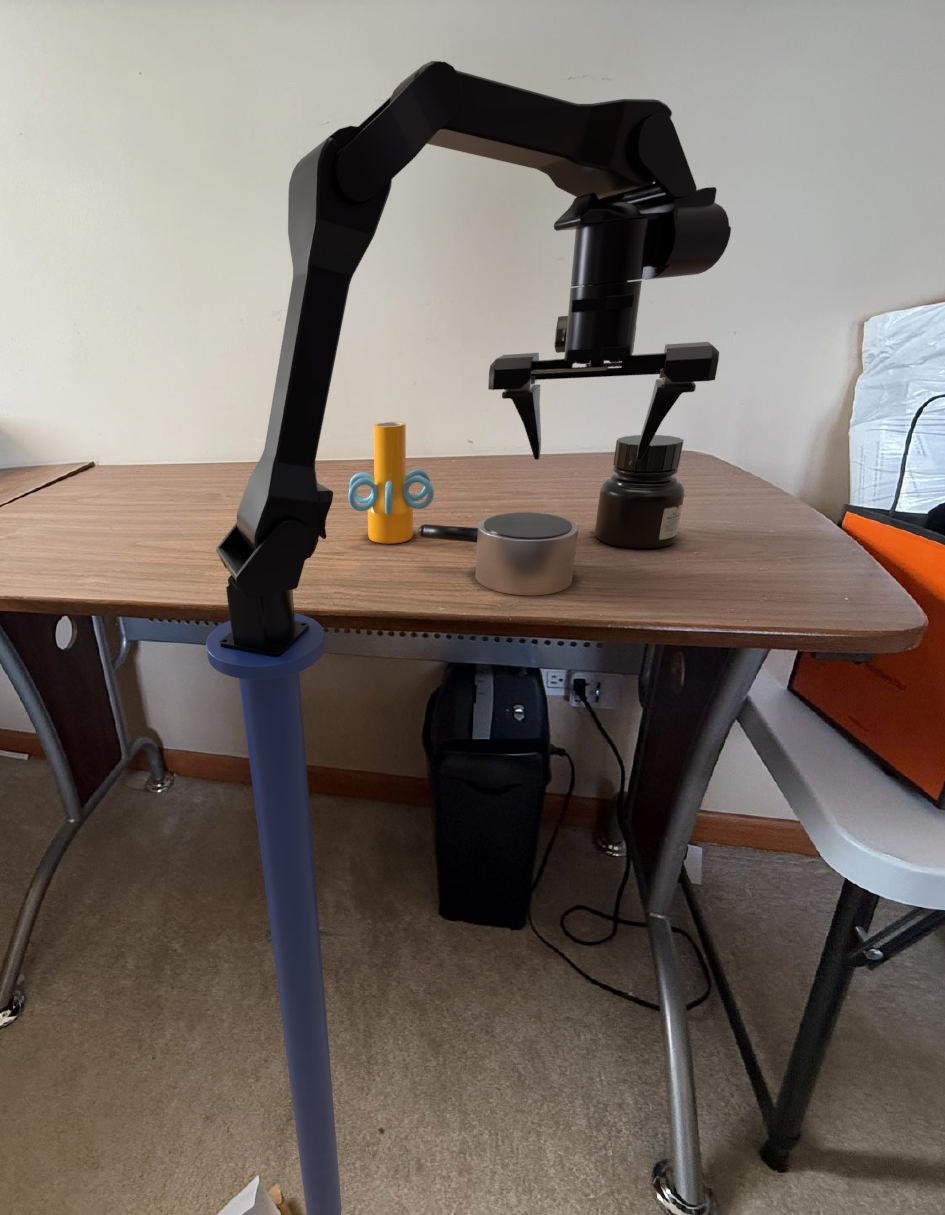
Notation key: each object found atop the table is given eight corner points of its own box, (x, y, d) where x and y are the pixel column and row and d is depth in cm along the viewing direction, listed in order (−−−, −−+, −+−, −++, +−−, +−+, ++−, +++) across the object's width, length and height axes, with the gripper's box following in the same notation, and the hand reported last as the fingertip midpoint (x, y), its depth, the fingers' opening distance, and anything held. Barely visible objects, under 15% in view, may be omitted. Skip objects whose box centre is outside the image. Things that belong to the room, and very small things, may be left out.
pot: (576, 566, 71) (582, 513, 68) (566, 600, 63) (573, 542, 60) (429, 553, 78) (430, 505, 76) (405, 582, 70) (405, 530, 68)
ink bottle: (685, 552, 72) (706, 447, 67) (600, 551, 74) (615, 449, 69) (664, 526, 80) (681, 431, 75) (588, 526, 83) (600, 433, 78)
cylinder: (369, 557, 79) (366, 435, 72) (333, 535, 88) (328, 426, 81) (451, 539, 82) (455, 422, 76) (408, 520, 91) (409, 414, 85)
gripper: (721, 272, 58) (691, 442, 64) (510, 294, 66) (502, 443, 73) (736, 270, 49) (699, 467, 56) (490, 296, 57) (484, 465, 64)
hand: (586, 459), depth 62 cm, fingers open, 9 cm apart
